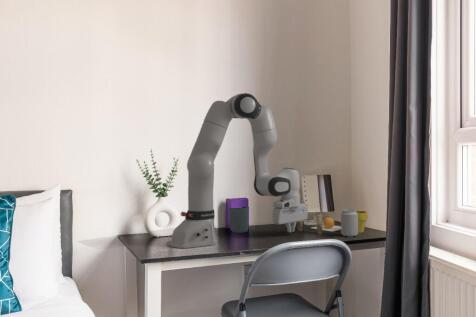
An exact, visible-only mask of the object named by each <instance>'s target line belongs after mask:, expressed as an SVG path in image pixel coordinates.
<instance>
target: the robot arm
mask: <svg viewBox="0 0 476 317" xmlns="http://www.w3.org/2000/svg"><path fill="white" fill-rule="evenodd" d="M233 119H241V120H243V119H247V120H248V121H249V122H248V123H250V126H251V127H250V128H251V132H252V133H251V134H252V142H253V147H252V148H253V152H252V153H253V154H252V155H253V165H254V180H253V188H254V190H255V193H256V194H257V195H258V196H260V197H261V196H262V197H264V196H265V197H275V198H277V197H280V198H279V199H278V200H276V201H274V202H273V204H272V207H273V209H272V223H273V224H274V225H284V224H285V226H286V228H287V229H286V230H287V233H293V232H294V233H295V228H296V225H297V222H298V221H303V222H304V221H307V220H308V217H309V215H308V208H307V203H306V202H305V201H304V200H301V194H300V188H301V186H300V185H301V184H300V183H301V182H300V173H299V171H298V170H297V169H296V168H292V167H291V168H290V167H283V168H282V169H281V170H280V171H278V172H277V173H275V174H272V175H271V174H270V173H269V166H268V165H269V164H268V155H269V152H270V151H271V150H272V149H273V148H275V146H276V144H277V142H278V132H277V126H276V123H275V118H274V115H273V112H272V110H271V108H270V107H268V106H266V105H262V104H261V103H260V102H259V101H258V99H257V98H256V97H255V96H254V95H252V94H251V93H247V92H246V93H245V92H244V93H238V94H236V95H233V96H232V97H231V98H229V99H228V100H227V101H223V100H215V101H214V102H212V104H211V105H210V107H209V109H208V111H207V112H206V115H205V117H204V119H203V123H202V124H201V127H200V130H199V133H198V136H197V138H196V140H195V142H194V145H193V147H192V150H191V152H190V155H189V157H188V160H187V162H186V169H187V174H188V178H187V180H188V185H187V188H188V189H187V197H188V198H187V199H188V200H187V204H188V205H187V207H188V208H187V209H188V210H187V211H181V212H180V215H181V217H184V220H183V221H181V223H179V224H178V225H177V226H176V227H175V228H174V230H173V232H172V236H171V240H169V241H166V245H167V246H168V247H170V248H176V249H190V248H198V247H206V246H207V247H208V246H214V245H216V244H217V243H218V241H219V240H218V238H217V237H218V236H217V234H216V227H215V216H216V214H215V209H214V183H215V164H214V162H215V160H216V157H217V156H218V153H219V151H220V149H221V146H222V144H223V142H224V139H225V136H226V134H227V130H228V128H229V124H230V123H231V121H232V120H233Z"/></svg>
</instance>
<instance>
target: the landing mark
mask: <svg viewBox="0 0 476 317" xmlns="http://www.w3.org/2000/svg"><path fill="white" fill-rule="evenodd" d="M310 229H314V230H317V226H312V227H310ZM322 231H324V232H336V231H341V225H334V226H333V227H332V228H326V227H325V226H324V224H322Z"/></svg>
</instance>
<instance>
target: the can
mask: <svg viewBox="0 0 476 317" xmlns="http://www.w3.org/2000/svg"><path fill="white" fill-rule="evenodd" d="M356 210H357V209H349V208H348V209H347V208H346V209H342V210H341V211H342V212H341V213H340V224H341V225H340V226H341V230H340V232H341V234H340V235H342V236H343V237H345V236H348V237H347V238H354V237H353V236H355V237H357V235H358V234H359V233H358V213H357V212H356Z"/></svg>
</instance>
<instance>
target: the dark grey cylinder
mask: <svg viewBox="0 0 476 317" xmlns="http://www.w3.org/2000/svg"><path fill="white" fill-rule="evenodd" d="M242 206H243V207H242V208H230V207H231V206H228V212H229V224H230V225H229V226H230V227H229V228H230V232H231V231H232V233H247V232H248V231H249V212H250V206H248V205H247V206H246V205H242Z"/></svg>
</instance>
